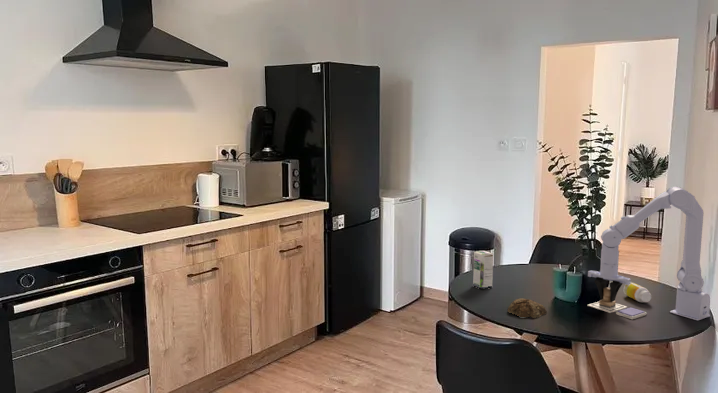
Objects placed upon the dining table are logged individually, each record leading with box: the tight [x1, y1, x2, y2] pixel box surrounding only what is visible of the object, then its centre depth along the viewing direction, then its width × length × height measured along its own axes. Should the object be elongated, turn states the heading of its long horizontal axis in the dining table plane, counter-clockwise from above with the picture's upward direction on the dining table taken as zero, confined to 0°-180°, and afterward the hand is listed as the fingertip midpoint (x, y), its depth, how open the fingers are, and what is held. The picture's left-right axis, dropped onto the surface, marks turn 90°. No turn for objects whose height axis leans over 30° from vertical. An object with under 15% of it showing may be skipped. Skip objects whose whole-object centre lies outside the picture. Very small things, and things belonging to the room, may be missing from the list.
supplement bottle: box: [622, 281, 652, 303], centre depth 202 cm, size 6×6×10 cm
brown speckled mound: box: [507, 298, 548, 319], centre depth 191 cm, size 13×12×5 cm
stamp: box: [598, 286, 617, 308], centre depth 196 cm, size 4×4×6 cm
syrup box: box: [472, 250, 494, 287], centre depth 220 cm, size 6×6×14 cm
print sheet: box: [587, 301, 628, 314], centre depth 196 cm, size 9×10×1 cm
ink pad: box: [615, 307, 647, 320], centre depth 188 cm, size 6×8×1 cm
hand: (607, 299), depth 196 cm, fingers closed on stamp, 3 cm apart
